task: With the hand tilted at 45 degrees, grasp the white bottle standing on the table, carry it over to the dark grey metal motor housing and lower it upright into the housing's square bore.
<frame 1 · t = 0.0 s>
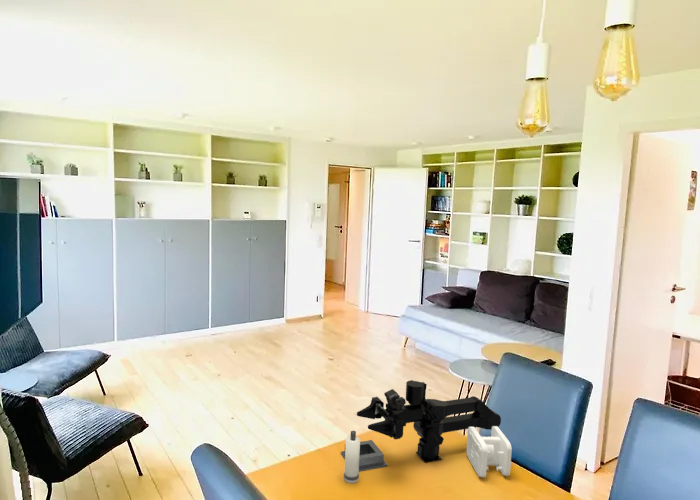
hand: (362, 420, 147), 17 cm above the table, tool horizontal, fingers open, 9 cm apart
white bottle: (351, 479, 143), on the table
housing: (363, 459, 155), on the table
cable organizer: (486, 468, 153), on the table
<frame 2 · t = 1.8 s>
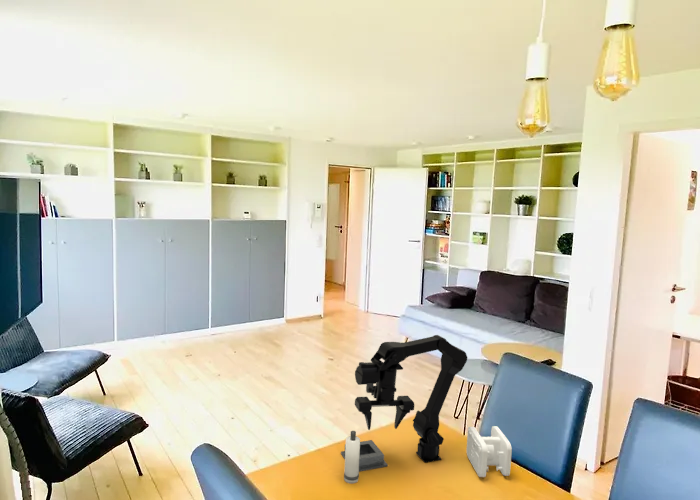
hand: (382, 428, 150), 13 cm above the table, tool pointing down, fingers open, 9 cm apart
nothing on the table moved.
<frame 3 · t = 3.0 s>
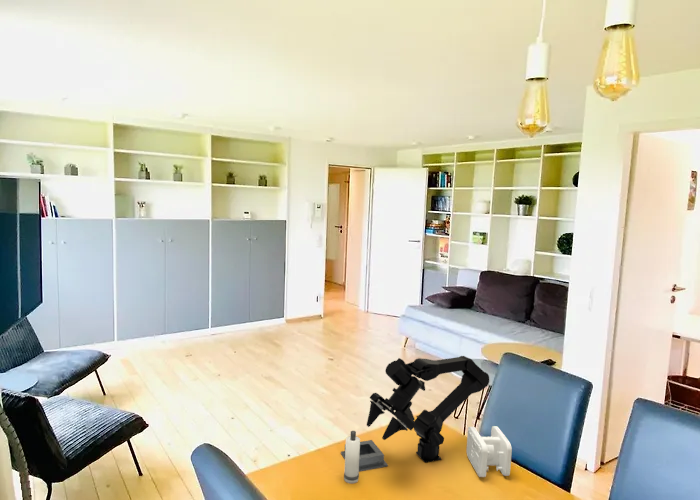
hand: (375, 432, 146), 13 cm above the table, tool tilted 45°, fingers open, 9 cm apart
nothing on the table moved.
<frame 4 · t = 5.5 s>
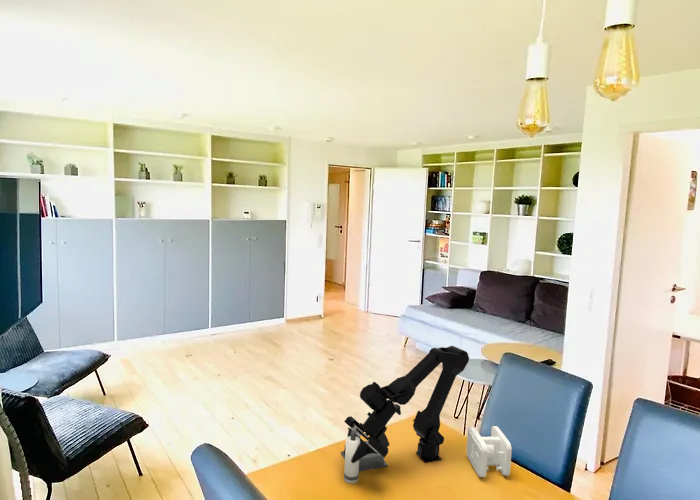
hand: (348, 458, 142), 7 cm above the table, tool tilted 45°, fingers closed on white bottle, 4 cm apart
white bottle: (351, 479, 143), on the table, touching gripper
everything else where it was.
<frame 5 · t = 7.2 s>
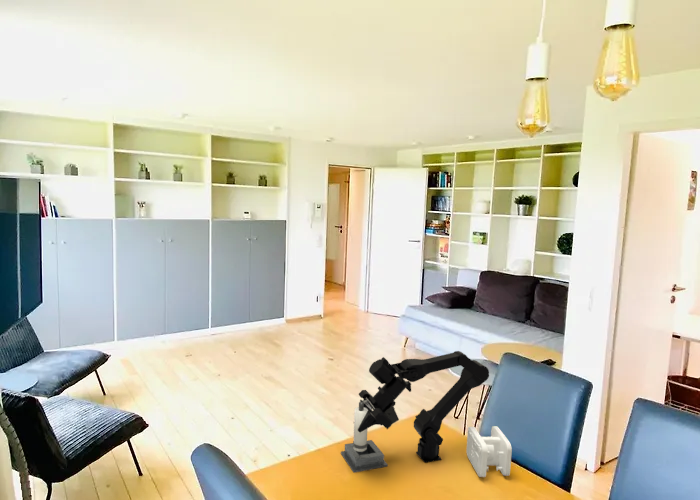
hand: (356, 427, 150), 13 cm above the table, tool tilted 45°, fingers closed on white bottle, 4 cm apart
white bottle: (360, 448, 151), point 6 cm above the table, touching gripper
everything else where it was.
when the fingers open (8 cm above the table, at t = 8.8 s): white bottle stays where it is, resting on housing.
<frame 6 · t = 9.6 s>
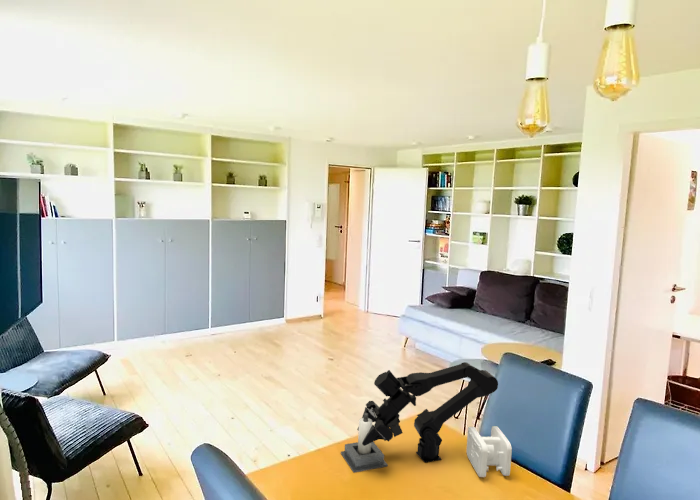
hand: (360, 437, 154), 8 cm above the table, tool tilted 45°, fingers open, 9 cm apart
white bottle: (363, 457, 155), point 1 cm above the table, touching housing
everything else where it was.
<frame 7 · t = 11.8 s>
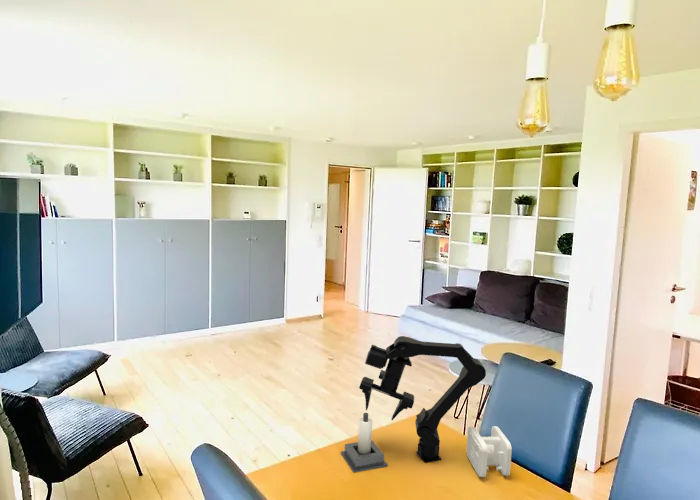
hand: (379, 414, 158), 14 cm above the table, tool tilted 15°, fingers open, 9 cm apart
nothing on the table moved.
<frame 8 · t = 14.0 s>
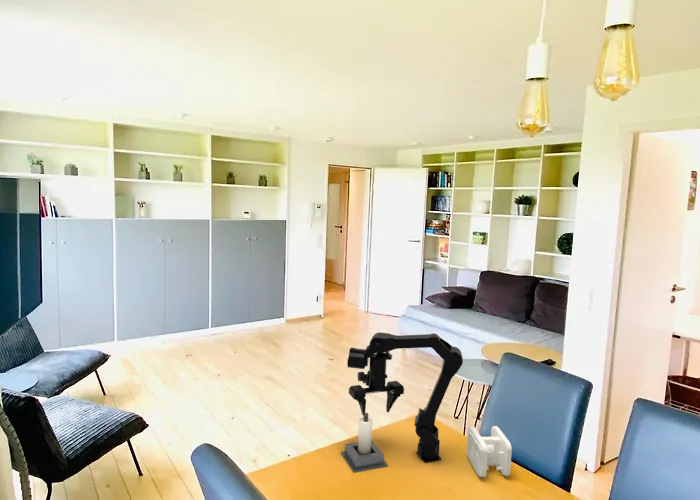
hand: (375, 413, 160), 13 cm above the table, tool pointing down, fingers open, 9 cm apart
nothing on the table moved.
at the end: white bottle 0.1 cm off-centre on the housing, point 0.6 cm above the housing's base; white bottle tilted 0°; the gripper is holding nothing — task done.
